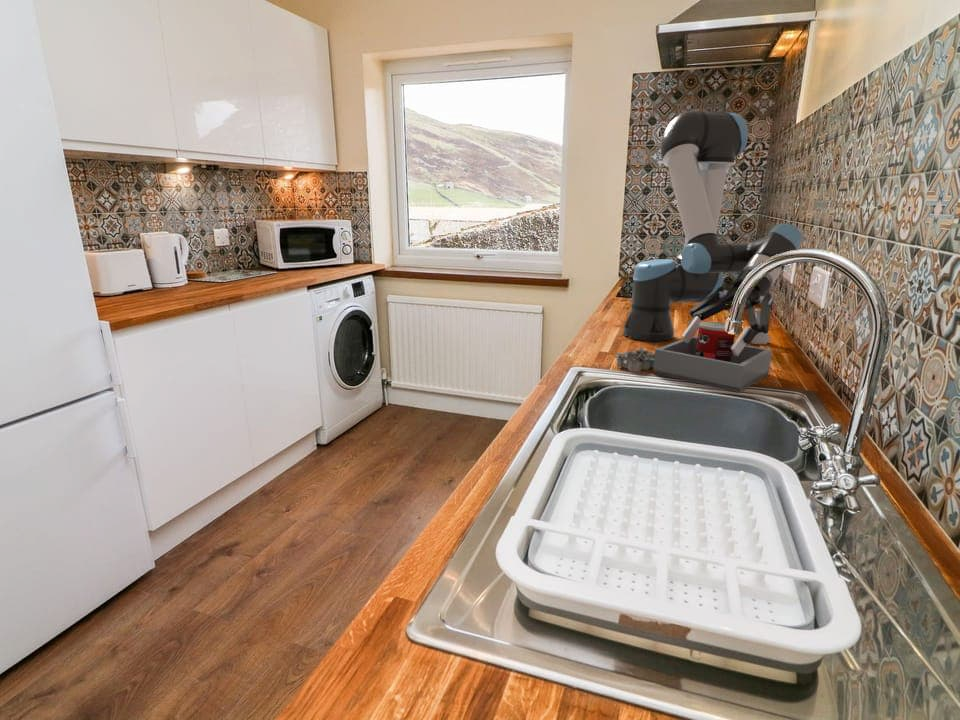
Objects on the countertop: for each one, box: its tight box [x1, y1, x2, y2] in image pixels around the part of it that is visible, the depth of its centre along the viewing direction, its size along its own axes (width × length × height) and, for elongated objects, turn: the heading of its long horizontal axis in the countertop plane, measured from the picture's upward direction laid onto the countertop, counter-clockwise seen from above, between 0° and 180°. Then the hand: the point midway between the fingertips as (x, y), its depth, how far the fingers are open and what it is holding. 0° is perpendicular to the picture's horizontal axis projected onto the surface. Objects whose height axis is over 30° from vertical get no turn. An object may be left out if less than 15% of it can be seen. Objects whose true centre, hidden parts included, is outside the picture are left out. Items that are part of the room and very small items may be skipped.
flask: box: [749, 308, 771, 345], centre depth 162 cm, size 7×7×10 cm
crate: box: [652, 336, 773, 393], centre depth 130 cm, size 20×20×6 cm
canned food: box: [696, 321, 736, 362], centre depth 129 cm, size 8×8×11 cm
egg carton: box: [614, 347, 655, 372], centre depth 136 cm, size 11×8×4 cm
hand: (708, 345), depth 128 cm, fingers open, 13 cm apart
